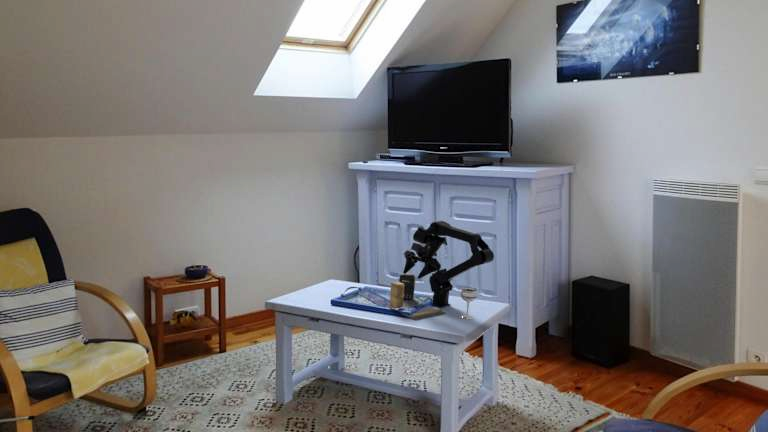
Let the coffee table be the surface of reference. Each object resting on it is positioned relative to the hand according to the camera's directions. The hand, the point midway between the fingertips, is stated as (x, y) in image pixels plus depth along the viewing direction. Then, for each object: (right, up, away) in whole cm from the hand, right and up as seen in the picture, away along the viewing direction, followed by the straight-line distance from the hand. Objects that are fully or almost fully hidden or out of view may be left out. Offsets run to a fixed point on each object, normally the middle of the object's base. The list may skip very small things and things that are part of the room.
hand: (411, 275), depth 285 cm
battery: (-2, -12, +13) cm, 18 cm away
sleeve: (-6, -14, -2) cm, 15 cm away
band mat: (+4, -15, -6) cm, 17 cm away
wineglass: (+23, -17, -8) cm, 29 cm away
